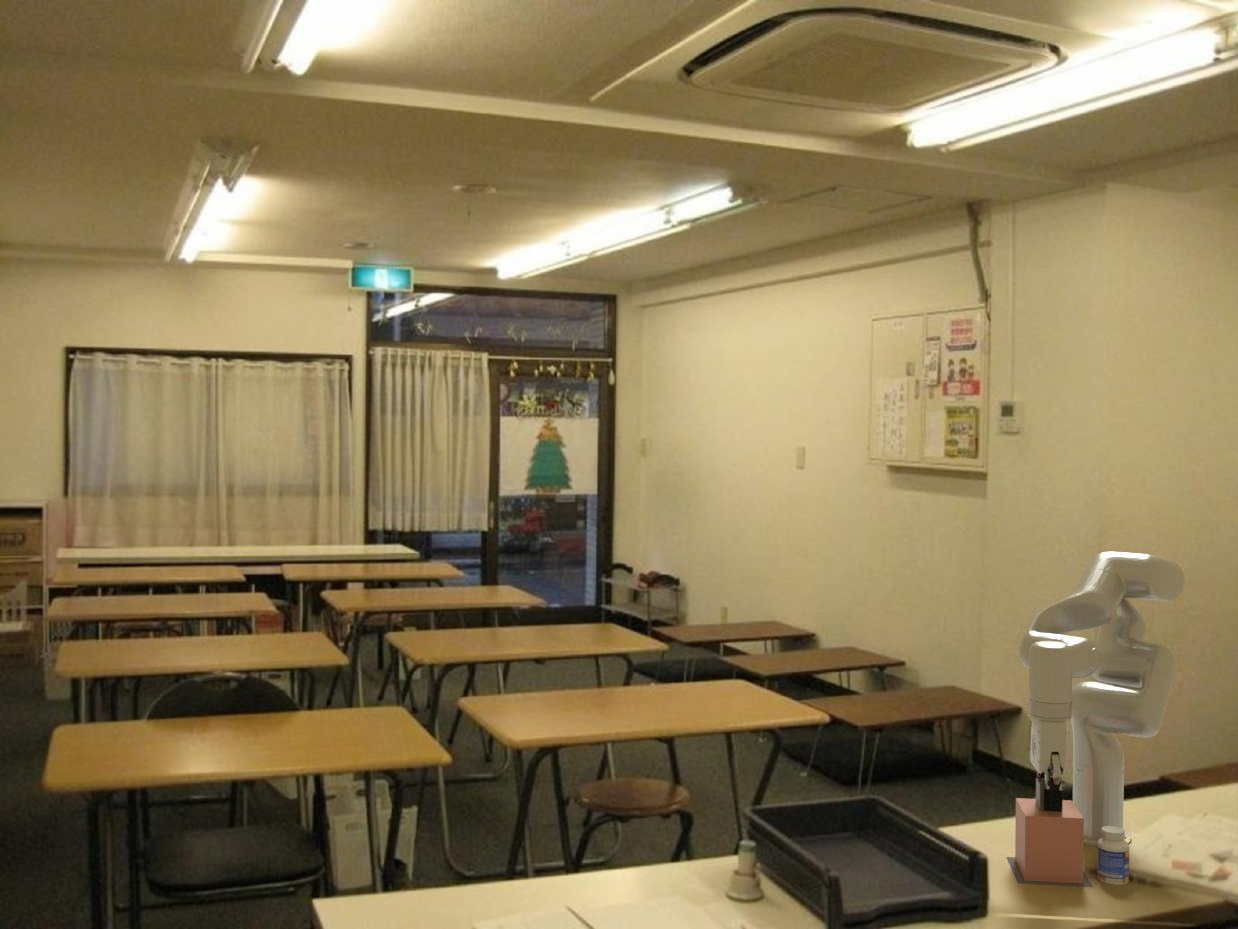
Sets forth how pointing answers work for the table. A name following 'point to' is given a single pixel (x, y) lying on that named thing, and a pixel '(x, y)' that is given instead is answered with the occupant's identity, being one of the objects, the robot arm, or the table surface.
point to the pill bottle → (1113, 856)
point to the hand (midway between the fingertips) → (1048, 803)
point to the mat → (1021, 880)
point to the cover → (1049, 840)
